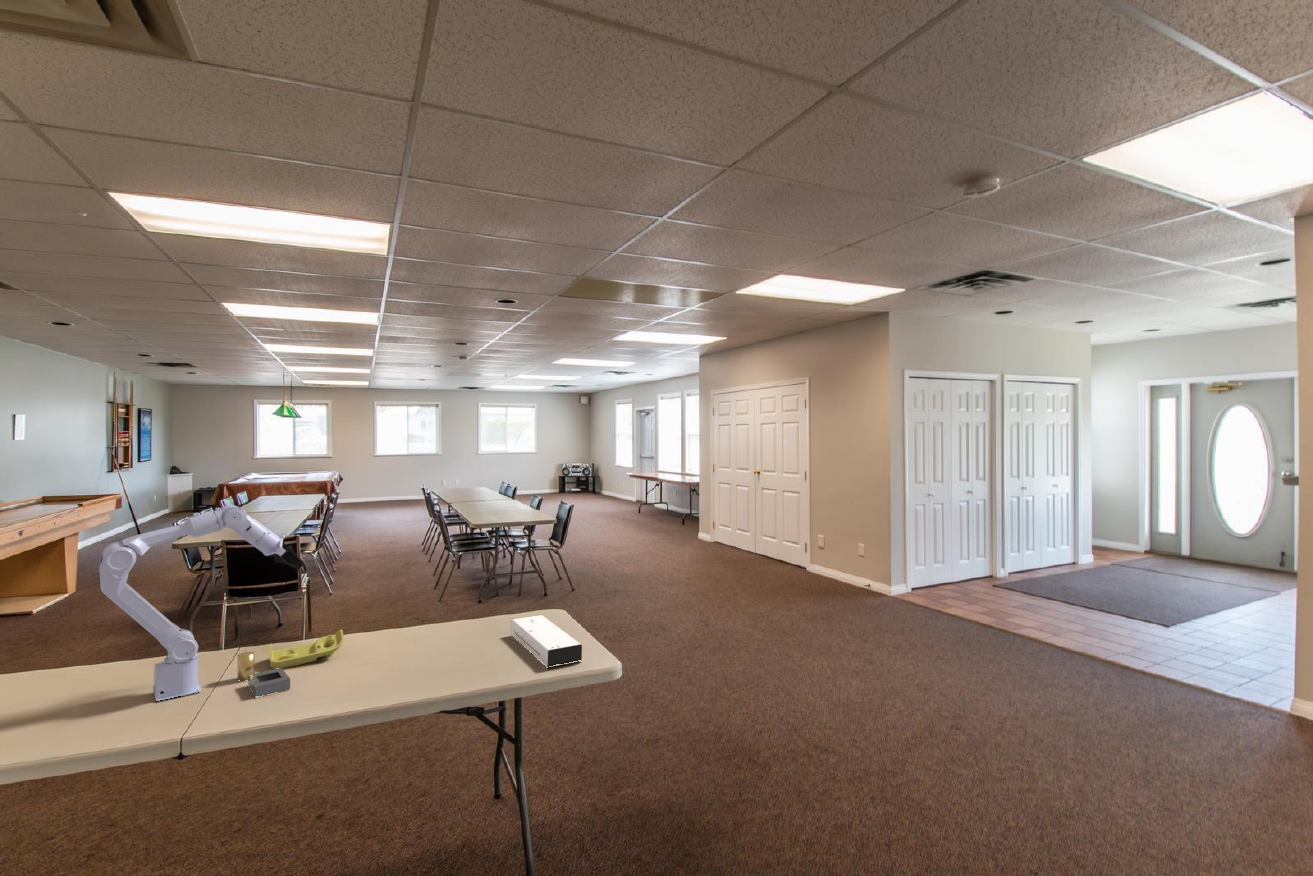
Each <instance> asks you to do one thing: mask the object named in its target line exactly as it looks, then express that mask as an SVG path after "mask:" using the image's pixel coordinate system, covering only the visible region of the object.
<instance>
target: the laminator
mask: <svg viewBox="0 0 1313 876" xmlns="http://www.w3.org/2000/svg"><path fill="white" fill-rule="evenodd" d="M510 630H511V636H512V635H513V636H514V637H515V638H516V639H517V640H518V641H520V642H521V644H523V646H525V647H526V648H527V649H528V650H530V651H531V652H532V653H533V654H534V655H535V656H536V657H537V658H538V659H540V660H541V661H542V662H543V663H544V664H545V665H546V666H547V667H549V666H553V665H556V664H564V663H569V662H573V661H578V660H581V661H582V660H583V659H582V658H583V656H582V655H583V645H582V644H581V643H580V642H579V641H578V640H576V639H574V638H573V637H572V636H570V635H569V634H568V633H567V632H566V631H564V630H562V629H561V628H560V627H558V626H557V625H556V624H555V623H554V622H551V621H550V620H549V619H548V618H547V617H545V616H544V615H542V614H538V615H537V614H536V615H531V616H525V617H519V618H517V617H516V618H511V629H510ZM521 644H520V645H521ZM523 646H522V647H523Z"/></svg>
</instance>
